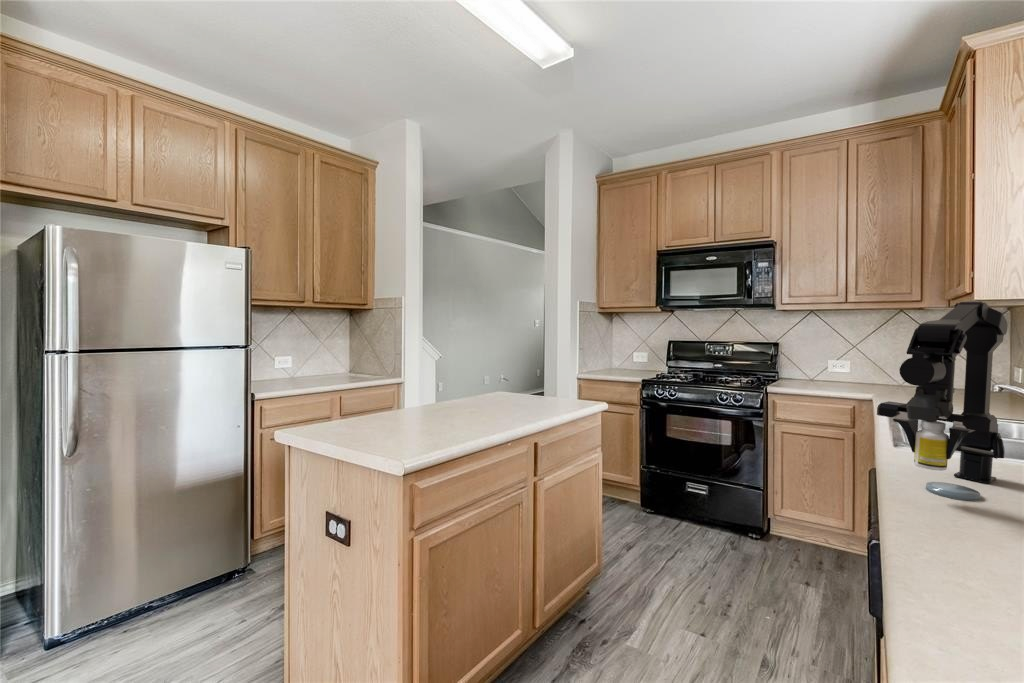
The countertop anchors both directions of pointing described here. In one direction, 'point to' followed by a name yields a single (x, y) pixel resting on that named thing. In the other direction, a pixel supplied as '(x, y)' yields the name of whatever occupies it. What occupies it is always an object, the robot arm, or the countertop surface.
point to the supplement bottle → (931, 446)
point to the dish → (953, 491)
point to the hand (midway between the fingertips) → (930, 455)
